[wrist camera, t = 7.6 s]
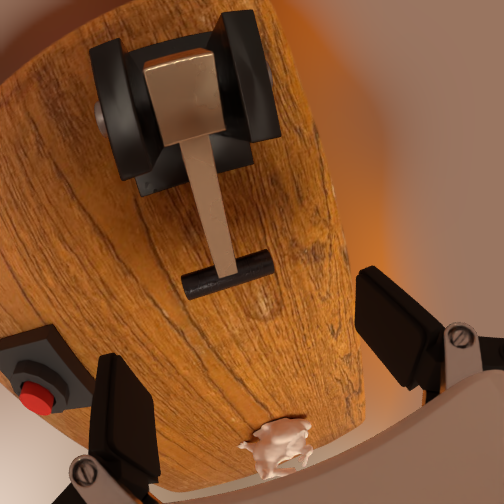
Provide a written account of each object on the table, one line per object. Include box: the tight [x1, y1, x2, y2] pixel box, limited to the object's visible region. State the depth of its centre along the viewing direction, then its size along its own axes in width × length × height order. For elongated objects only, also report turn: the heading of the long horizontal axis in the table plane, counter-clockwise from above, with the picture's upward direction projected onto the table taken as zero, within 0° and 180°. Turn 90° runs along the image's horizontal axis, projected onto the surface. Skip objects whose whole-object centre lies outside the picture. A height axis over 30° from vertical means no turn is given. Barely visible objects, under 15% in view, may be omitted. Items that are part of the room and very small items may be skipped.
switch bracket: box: [89, 10, 281, 197], centre depth 12 cm, size 10×8×12 cm
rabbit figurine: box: [237, 418, 313, 480], centre depth 32 cm, size 12×8×10 cm, turn 106°
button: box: [20, 381, 54, 415], centre depth 19 cm, size 4×4×2 cm
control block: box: [0, 324, 96, 413], centre depth 21 cm, size 10×10×4 cm
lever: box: [142, 48, 274, 300], centre depth 12 cm, size 12×5×2 cm, turn 12°
